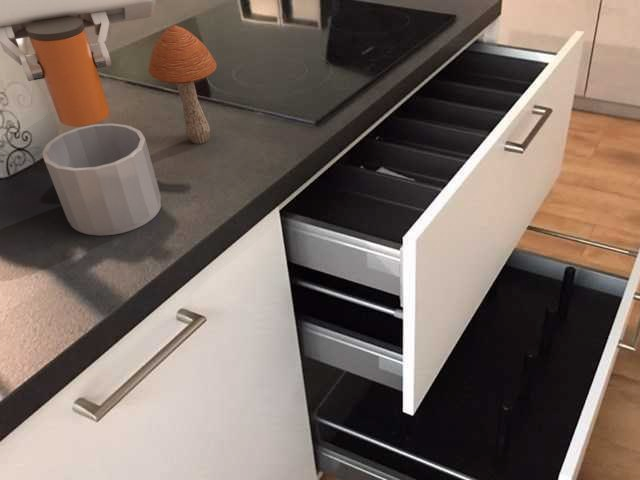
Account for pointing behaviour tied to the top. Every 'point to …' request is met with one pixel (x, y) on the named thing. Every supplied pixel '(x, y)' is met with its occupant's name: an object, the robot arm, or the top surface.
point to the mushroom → (184, 74)
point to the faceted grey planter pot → (103, 178)
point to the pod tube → (69, 70)
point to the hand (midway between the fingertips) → (70, 70)
